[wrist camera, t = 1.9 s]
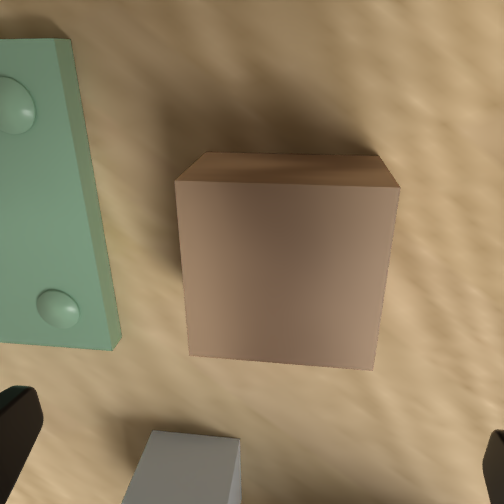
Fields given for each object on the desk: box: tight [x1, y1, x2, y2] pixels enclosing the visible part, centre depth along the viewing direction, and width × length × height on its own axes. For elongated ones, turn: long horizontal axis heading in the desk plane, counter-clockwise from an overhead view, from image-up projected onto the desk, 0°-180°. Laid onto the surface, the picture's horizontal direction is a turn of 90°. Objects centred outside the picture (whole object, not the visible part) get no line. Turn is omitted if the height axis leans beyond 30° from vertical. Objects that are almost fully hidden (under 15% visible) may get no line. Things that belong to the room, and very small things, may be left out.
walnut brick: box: [174, 152, 400, 371], centre depth 14 cm, size 6×6×4 cm
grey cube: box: [121, 430, 242, 504], centre depth 20 cm, size 4×4×4 cm
